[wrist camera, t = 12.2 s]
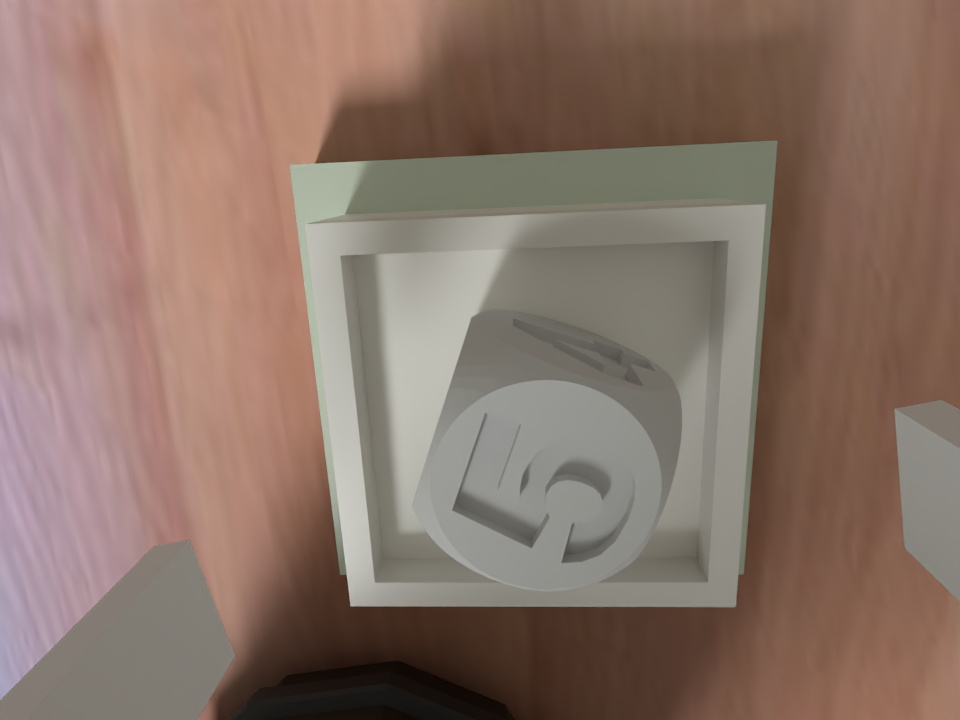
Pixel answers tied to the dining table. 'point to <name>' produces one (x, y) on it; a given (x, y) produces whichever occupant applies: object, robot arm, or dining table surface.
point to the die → (549, 454)
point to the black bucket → (370, 697)
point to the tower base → (547, 293)
